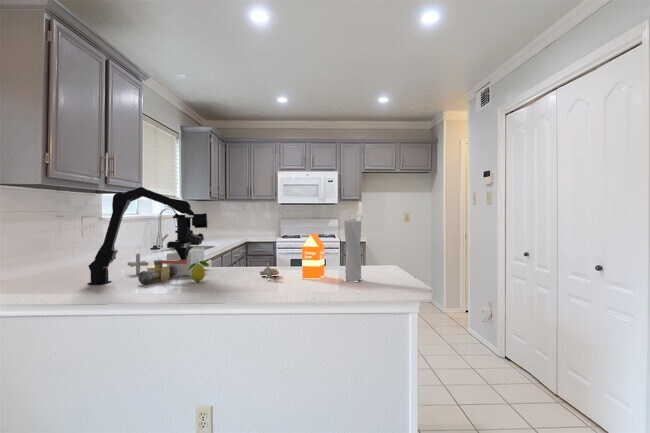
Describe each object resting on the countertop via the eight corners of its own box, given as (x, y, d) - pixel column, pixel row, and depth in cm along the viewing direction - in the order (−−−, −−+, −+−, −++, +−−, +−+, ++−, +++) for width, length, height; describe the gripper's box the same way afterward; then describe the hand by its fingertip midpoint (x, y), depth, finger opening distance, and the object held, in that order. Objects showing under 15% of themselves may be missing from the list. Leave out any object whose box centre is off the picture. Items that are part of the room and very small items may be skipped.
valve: (276, 279, 153) (254, 281, 155) (284, 280, 165) (264, 282, 167) (275, 262, 155) (253, 264, 157) (283, 264, 167) (263, 266, 169)
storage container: (183, 269, 194) (183, 249, 194) (204, 268, 195) (204, 248, 195) (166, 276, 169) (166, 253, 169) (190, 276, 170) (190, 253, 170)
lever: (152, 264, 156) (152, 260, 156) (157, 263, 159) (157, 259, 159) (183, 264, 154) (183, 260, 154) (188, 263, 158) (187, 259, 158)
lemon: (209, 281, 153) (209, 258, 153) (198, 284, 148) (198, 260, 148) (198, 280, 156) (198, 257, 156) (187, 282, 151) (187, 259, 151)
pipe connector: (153, 272, 182) (153, 252, 182) (141, 275, 172) (141, 254, 172) (135, 272, 183) (134, 252, 183) (122, 275, 173) (121, 254, 173)
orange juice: (302, 279, 156) (301, 234, 156) (308, 276, 165) (308, 233, 165) (318, 280, 154) (318, 234, 154) (324, 276, 163) (324, 233, 163)
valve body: (152, 284, 147) (151, 267, 147) (137, 284, 148) (137, 267, 148) (177, 276, 167) (177, 261, 167) (164, 276, 167) (164, 261, 167)
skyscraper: (364, 279, 154) (364, 215, 154) (361, 282, 146) (360, 215, 147) (345, 278, 157) (345, 215, 157) (341, 282, 149) (341, 215, 149)
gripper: (190, 228, 152) (190, 265, 152) (209, 227, 171) (209, 260, 170) (166, 228, 153) (166, 265, 153) (187, 227, 172) (187, 260, 172)
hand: (184, 262), depth 162 cm, fingers closed
